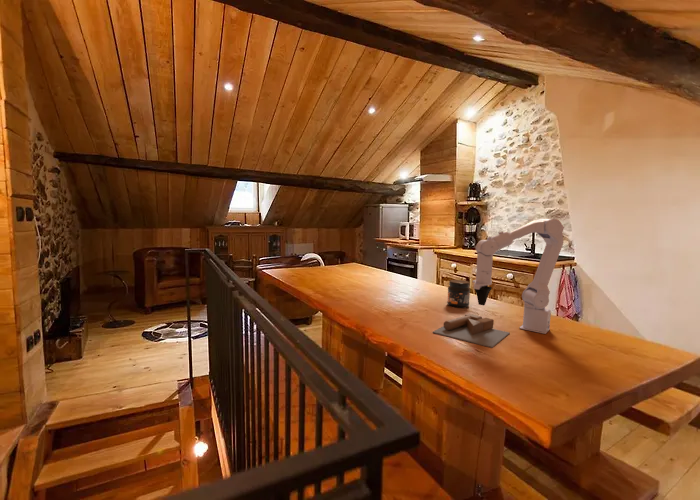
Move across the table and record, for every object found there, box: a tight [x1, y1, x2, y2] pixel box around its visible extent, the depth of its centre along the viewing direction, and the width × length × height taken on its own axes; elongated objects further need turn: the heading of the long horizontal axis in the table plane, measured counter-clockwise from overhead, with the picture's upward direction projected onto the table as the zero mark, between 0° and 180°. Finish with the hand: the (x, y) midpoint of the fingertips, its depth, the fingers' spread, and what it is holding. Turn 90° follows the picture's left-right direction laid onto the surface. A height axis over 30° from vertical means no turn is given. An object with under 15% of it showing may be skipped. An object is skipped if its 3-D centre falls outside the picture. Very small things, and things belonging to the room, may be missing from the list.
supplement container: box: [446, 279, 471, 309], centre depth 181 cm, size 10×10×12 cm
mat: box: [432, 325, 511, 349], centre depth 139 cm, size 22×20×1 cm
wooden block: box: [443, 313, 494, 335], centre depth 143 cm, size 4×11×18 cm
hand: (481, 304), depth 146 cm, fingers closed
